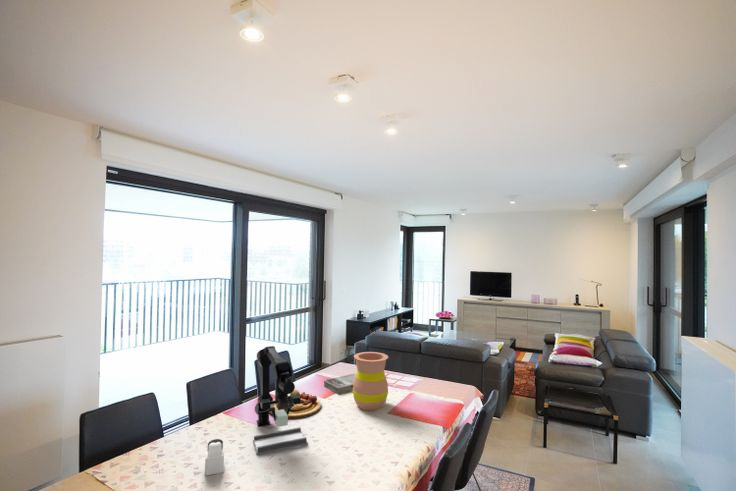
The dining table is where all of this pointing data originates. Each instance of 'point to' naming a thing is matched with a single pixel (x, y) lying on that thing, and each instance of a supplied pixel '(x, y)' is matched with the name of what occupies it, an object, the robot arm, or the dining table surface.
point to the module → (281, 418)
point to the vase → (370, 381)
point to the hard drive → (340, 383)
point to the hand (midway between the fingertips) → (280, 419)
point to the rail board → (279, 441)
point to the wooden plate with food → (302, 406)
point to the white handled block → (214, 457)
